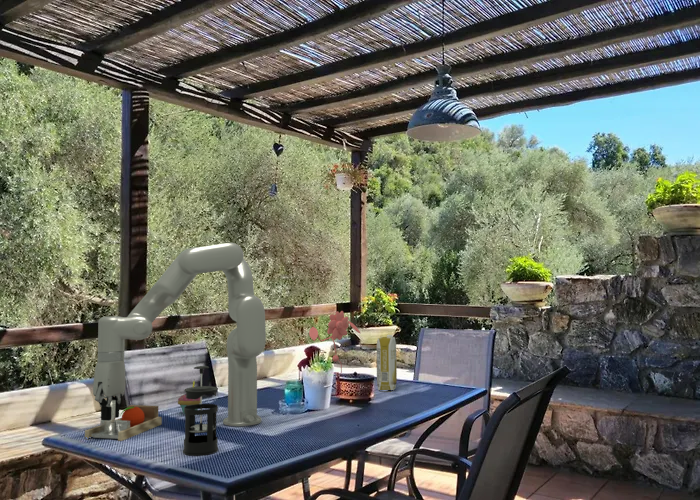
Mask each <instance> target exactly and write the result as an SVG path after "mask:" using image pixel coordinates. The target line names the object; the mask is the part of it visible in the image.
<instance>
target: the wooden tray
mask: <svg viewBox="0 0 700 500" xmlns="http://www.w3.org/2000/svg"><path fill="white" fill-rule="evenodd" d="M133 406H134V407H139V408H140V409H141V410H142V411H143V413H144V421H143V423H141V424H138V425H136V426H133V427H130V428H128V429H125V430H123V431H120V432H118V439H117V441H118V442H123V441H125V440H128V439H130V438H132V437H134V436H138V435H139V434H140V435H141V434H142V433H144V432H147V431H150V430H153V429H154V428H157V427H159V426H161V425H162V419H163V417H162V416H159V405H143V404H142V405H141V404H138V405H137V404H130V405H128V406H127V407H126V408H129V407H133ZM116 420H122V417H118V418H116ZM149 429H150V430H149ZM98 431H100V425H98V426H93V427H92V428H89V429H86V430H84V438H85V437H87V438H89V437H91V434H92V433H95V432H98Z"/></svg>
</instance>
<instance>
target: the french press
mask: <svg viewBox="0 0 700 500" xmlns="http://www.w3.org/2000/svg"><path fill="white" fill-rule="evenodd" d="M193 369H194V370H199V374H200V386H199V385H198V386H194V387H193V386H192V387H187V388H184V392H185V394H186V398H188V399H198V398H200V397H201V403H200V404H195V405H186V407H184V413H185V414H184V417H185V418H184V419H185V420H184V439H183V450H182V454H184V455H186V456H192V457H202V456H209V455H212V454H216V453H217V452H219V447H218V439H219V438H218V436H217V413H218V411H219V406H218V405H217V404H214V403H202V402H203V396H204V395H211V396H215V397H216V396H217V391H218V390H219V388H218V386H209V385H203V374H204V370H205V369H210V367H209V366H207V365H200V366H199V365H198V366H195V367H193ZM195 409H198V410H195ZM204 415H206V418H207V419H206V420H207V421H206V423H203V422H202V419H203V418H202V417H203V416H204ZM196 416H199V417H200V419H199V420H200V421H199V424H196ZM205 433H206V434H205ZM196 434H197V435H196ZM198 434H200V435H198Z"/></svg>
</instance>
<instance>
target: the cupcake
mask: <svg viewBox="0 0 700 500" xmlns="http://www.w3.org/2000/svg"><path fill="white" fill-rule="evenodd" d="M195 385H196V380H195V378H194V380H193V381H192V387H196V386H195ZM195 404H201V397H200V398H198V399H188V398H186V393H185V394H183V395H181V396H180V397H178V399H177V405H179V406H180V408H181V411H182V414H183V413H184V407H186V405H195ZM195 410H199V409H195ZM183 415H185V413H184V414H183Z"/></svg>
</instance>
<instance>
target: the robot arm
mask: <svg viewBox="0 0 700 500" xmlns="http://www.w3.org/2000/svg"><path fill="white" fill-rule="evenodd" d="M244 257H245V256H244V251H243V248H242V247H241V245H239V244H237V243H235V242H225V243H218V244H217V243H216V244H211V245H205V246H194V247H190V248H186V249H184V250H183V251H181V252H180V253H179V254H178V255H177V256H176V258H175V259H174V260H172V262H171V264H170V265H169V266H168V267H167V269H166V270H165V271H164V272H163V274H162V275H161V276H160V277H159V278H158V280H157V281H156V282H155V283H154V284H153V286H152V287H151V288H150V289H149V290H148V292H147V293H146V294H145V295H144V296H143V297H142V299H141V300H140V301H139V302H138V303H137V304H136V305H135V307H134V308H133V309H132V310H131V311H130V313H129V314H128V315H127V316H126V317H123V316H120V315H119V316H116V315H115V316H111V315H110V316H102V317H100V318H99V319H98V325H97V326H98V330H97V331H98V332H97V334H98V335H97V363H96V364H95V367H94V368H95V369H94V375H93V383H92V384H93V386H92V395H93V396H94V397H95V398H94V400H95V401H96V402H97V403H98V404H99V407H100V421H101V420H108V421H109V420H111V411H112V407H110V401H111V400H116V408H115V419H119V418H120V404H121V403H122V402H121V399H122V397H123V396H124V395H125V393H126V381H127V380H126V365H125V344H126V343H125V342H126V341H125V340H133V341H134V340H135V341H142V340H144V339H146V338H148V337H149V336H150V335H151V334H152V331H153V323H154V321H155V320H156V319H157V317H159V315H161V313H162V312H163V311H164V310H165V309H166V308H168V307H169V306H170V305H172V304H174V303H175V302H176V301H177V300H178V299H179V298H180V297H181V296H182V294H183V293H184V291H185V290H186V289H187V288H188V286H189V285H190V284H191V283H192V281H193V280H194V279H195V278H196V277H197V275H198V274H206V273H213V272H218V271H220V272H221V271H222V272H223V274H224V275H225V278H226V280H227V292H228V293H227V294H228V295H227V296H228V297H227V298H228V310H227V311H228V315H229V318H231V319H232V321H234V322H235V323H236V327H235V328H234V329H232V330H231V331H230V332H229V334H228V335H227V338H226V354H227V363H228V364H227V370H228V372H227V374H228V377H227V417H225V418H224V419H223V420H222V423H223V425H224V426H231V427H247V426H254V425H258V424H260V423H262V419H263V418H262V417H261V416H259V415H258V363H257V362H258V361H257V360H258V359H257V357H258V356H260V355H261V354H262V353H263V351H264V349H265V347H266V342H267V341H266V339H267V338H266V337H267V335H266V331H267V330H266V327H267V326H266V310H265V305H264V303H263V301H262V300H261V299H260V298H259V297H258V296H256V295H255V291H254V279H253V278H254V276H253V273H252V270H251V268H250V266H249V264H248V262H247V261H246V259H245V258H244ZM106 400H107V401H106Z"/></svg>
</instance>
